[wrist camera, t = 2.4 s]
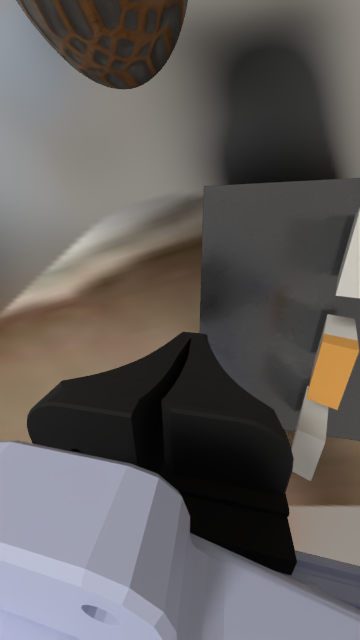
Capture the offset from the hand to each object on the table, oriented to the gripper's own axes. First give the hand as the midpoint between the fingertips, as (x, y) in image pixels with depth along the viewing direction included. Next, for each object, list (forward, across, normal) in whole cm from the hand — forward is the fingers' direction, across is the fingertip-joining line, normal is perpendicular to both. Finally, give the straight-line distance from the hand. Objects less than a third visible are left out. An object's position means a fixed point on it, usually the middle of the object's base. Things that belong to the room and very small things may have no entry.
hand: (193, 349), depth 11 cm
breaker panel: (+5, -8, 0) cm, 9 cm away
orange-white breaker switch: (+3, -8, 0) cm, 9 cm away
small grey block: (+3, -8, +5) cm, 10 cm away
